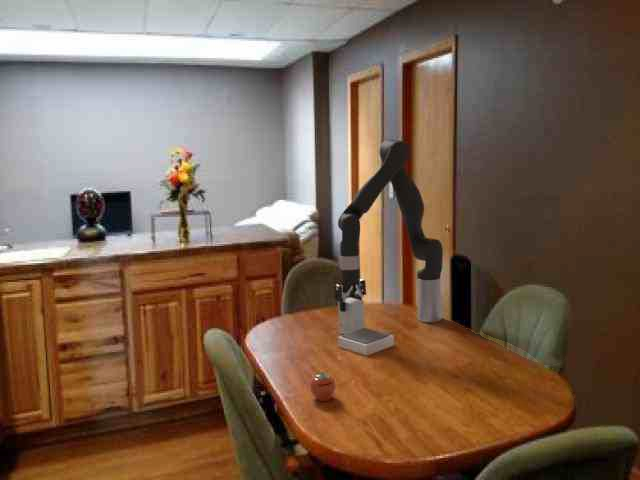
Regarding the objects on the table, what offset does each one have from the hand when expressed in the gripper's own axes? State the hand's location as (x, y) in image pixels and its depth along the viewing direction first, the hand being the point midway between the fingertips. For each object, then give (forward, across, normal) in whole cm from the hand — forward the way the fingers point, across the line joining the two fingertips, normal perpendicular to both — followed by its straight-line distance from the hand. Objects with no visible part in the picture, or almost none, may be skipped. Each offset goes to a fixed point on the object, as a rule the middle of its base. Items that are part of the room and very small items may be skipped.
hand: (351, 309), depth 218 cm
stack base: (+10, +7, +14) cm, 18 cm away
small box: (+10, 0, 0) cm, 10 cm away
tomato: (+10, +47, +35) cm, 60 cm away
